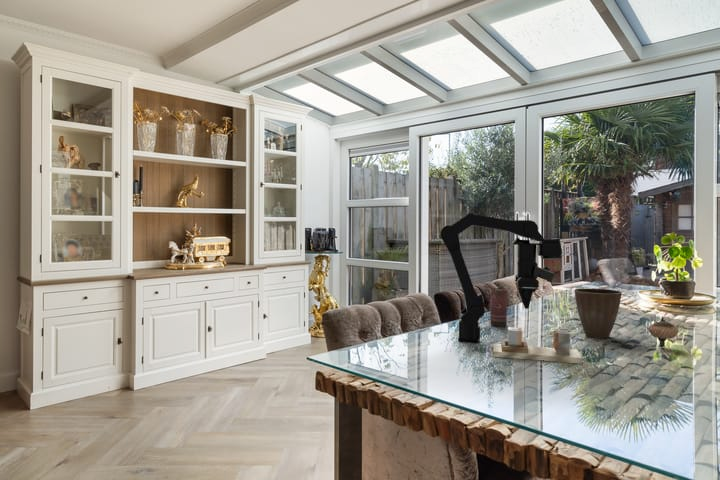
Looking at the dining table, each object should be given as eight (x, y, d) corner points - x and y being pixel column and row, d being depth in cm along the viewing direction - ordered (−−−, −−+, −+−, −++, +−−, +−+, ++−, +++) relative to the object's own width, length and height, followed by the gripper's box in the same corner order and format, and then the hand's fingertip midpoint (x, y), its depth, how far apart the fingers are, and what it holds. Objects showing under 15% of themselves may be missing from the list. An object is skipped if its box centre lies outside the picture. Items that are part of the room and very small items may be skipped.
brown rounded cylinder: (508, 327, 185) (508, 290, 185) (490, 326, 186) (491, 289, 186) (506, 324, 191) (507, 288, 191) (489, 323, 192) (490, 287, 192)
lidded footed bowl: (680, 347, 156) (681, 316, 155) (674, 352, 150) (675, 320, 149) (650, 343, 161) (651, 313, 161) (644, 347, 155) (645, 316, 155)
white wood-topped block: (508, 350, 143) (508, 330, 143) (507, 346, 148) (507, 326, 148) (521, 351, 142) (522, 331, 142) (520, 347, 147) (521, 327, 147)
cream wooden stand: (493, 356, 142) (493, 330, 142) (493, 348, 152) (493, 324, 152) (582, 363, 136) (583, 336, 136) (576, 354, 145) (577, 329, 145)
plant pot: (573, 338, 167) (575, 292, 167) (572, 330, 181) (573, 287, 181) (623, 342, 162) (624, 294, 161) (618, 333, 176) (619, 289, 175)
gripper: (556, 261, 148) (555, 312, 148) (549, 257, 166) (548, 303, 166) (518, 260, 151) (517, 310, 151) (515, 256, 169) (514, 301, 169)
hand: (525, 306), depth 159 cm, fingers open, 9 cm apart
